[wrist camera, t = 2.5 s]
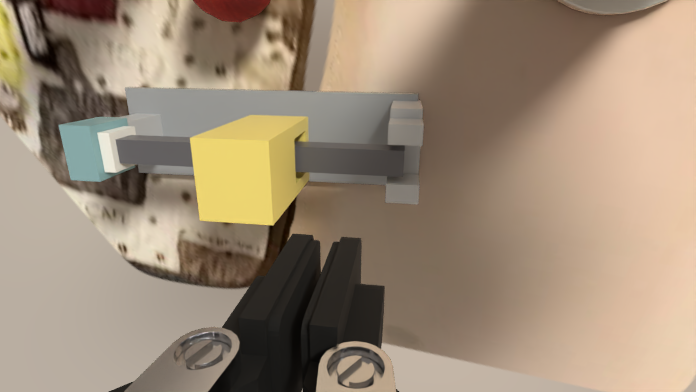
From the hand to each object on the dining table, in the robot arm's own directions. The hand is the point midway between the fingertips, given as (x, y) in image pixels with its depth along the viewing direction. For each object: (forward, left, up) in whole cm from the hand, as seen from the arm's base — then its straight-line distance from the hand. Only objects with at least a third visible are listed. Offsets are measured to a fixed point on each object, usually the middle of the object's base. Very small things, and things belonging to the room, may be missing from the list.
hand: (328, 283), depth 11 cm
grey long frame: (+8, 0, -21) cm, 23 cm away
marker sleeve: (+7, 0, -17) cm, 18 cm away
